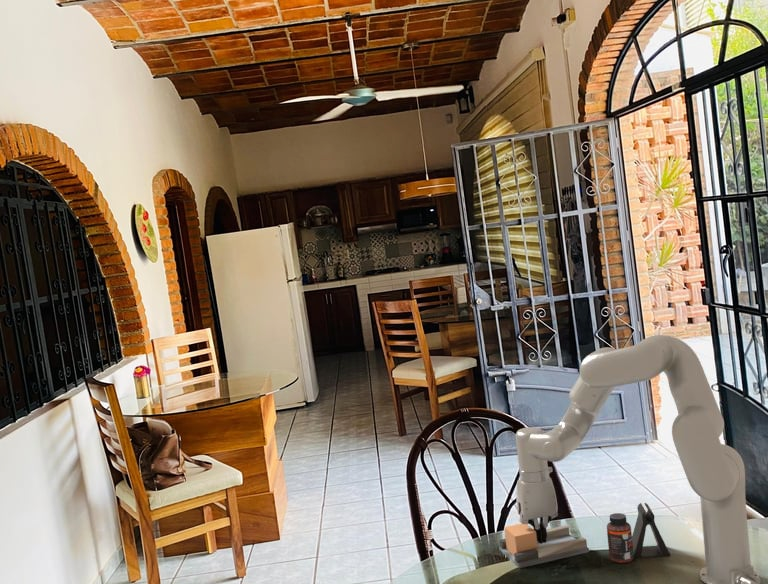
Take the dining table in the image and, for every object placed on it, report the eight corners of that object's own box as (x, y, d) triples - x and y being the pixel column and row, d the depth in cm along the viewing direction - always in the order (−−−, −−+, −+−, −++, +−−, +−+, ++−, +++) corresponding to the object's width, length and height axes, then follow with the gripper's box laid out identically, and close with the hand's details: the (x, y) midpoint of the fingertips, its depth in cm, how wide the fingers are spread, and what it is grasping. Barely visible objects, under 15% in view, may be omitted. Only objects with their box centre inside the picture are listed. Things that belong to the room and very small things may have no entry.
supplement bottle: (635, 563, 184) (631, 519, 184) (610, 564, 185) (606, 520, 185) (632, 553, 190) (628, 510, 189) (608, 554, 191) (604, 511, 191)
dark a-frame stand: (633, 558, 187) (629, 512, 187) (629, 548, 193) (625, 503, 193) (670, 556, 186) (666, 510, 185) (664, 546, 192) (660, 501, 191)
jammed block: (538, 554, 194) (536, 531, 193) (517, 558, 192) (514, 536, 192) (526, 544, 200) (524, 522, 200) (506, 548, 199) (504, 527, 199)
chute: (589, 551, 194) (588, 540, 194) (519, 568, 189) (518, 556, 189) (565, 534, 206) (564, 524, 206) (499, 549, 202) (498, 538, 202)
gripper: (553, 465, 202) (560, 530, 203) (502, 476, 198) (509, 542, 199) (566, 473, 195) (573, 540, 196) (514, 483, 191) (521, 552, 192)
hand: (541, 541), depth 198 cm, fingers closed
